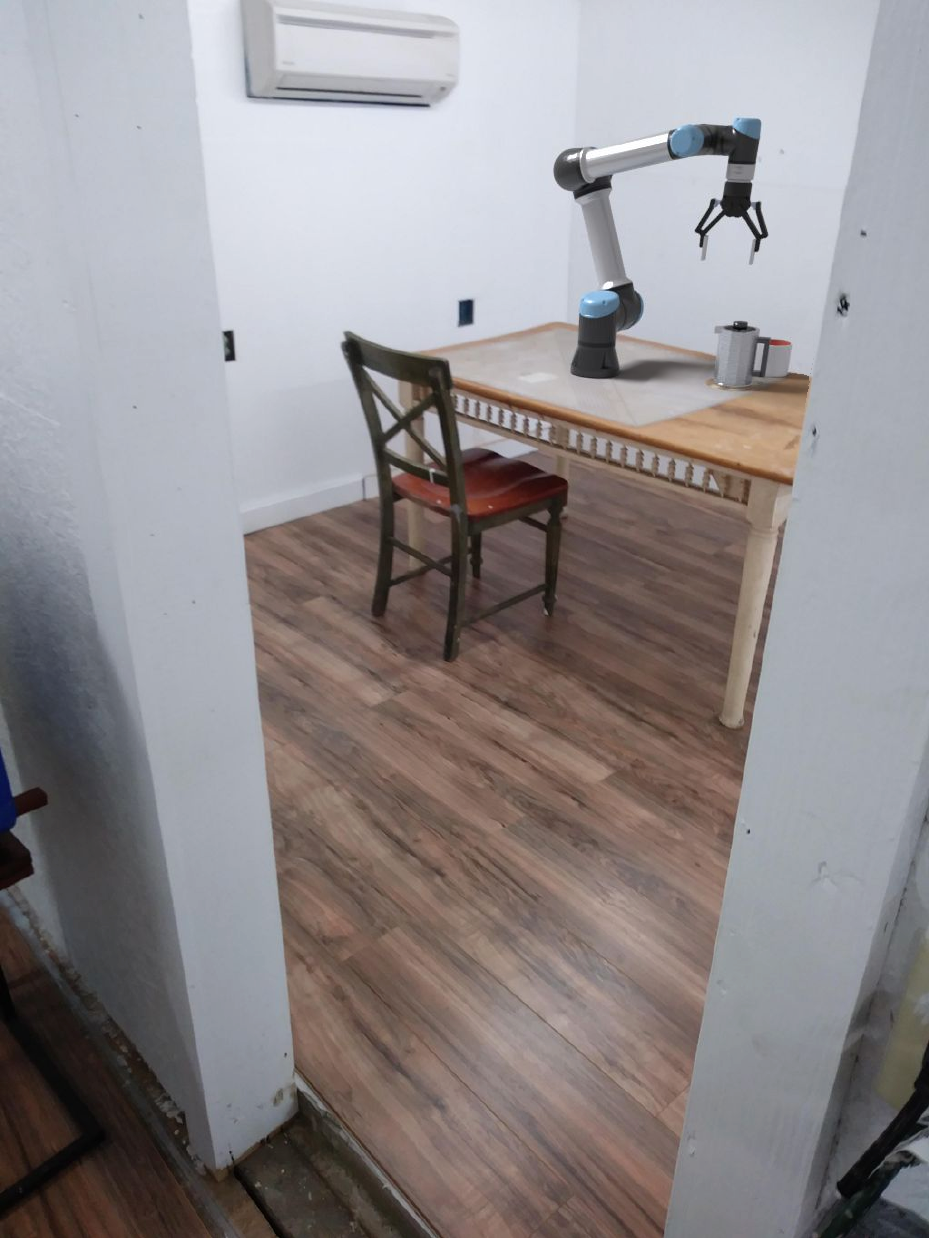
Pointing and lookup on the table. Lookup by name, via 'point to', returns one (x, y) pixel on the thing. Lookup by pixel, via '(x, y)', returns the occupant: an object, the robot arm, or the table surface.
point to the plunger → (740, 325)
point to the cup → (775, 358)
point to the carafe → (738, 356)
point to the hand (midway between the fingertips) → (726, 262)
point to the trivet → (711, 384)
